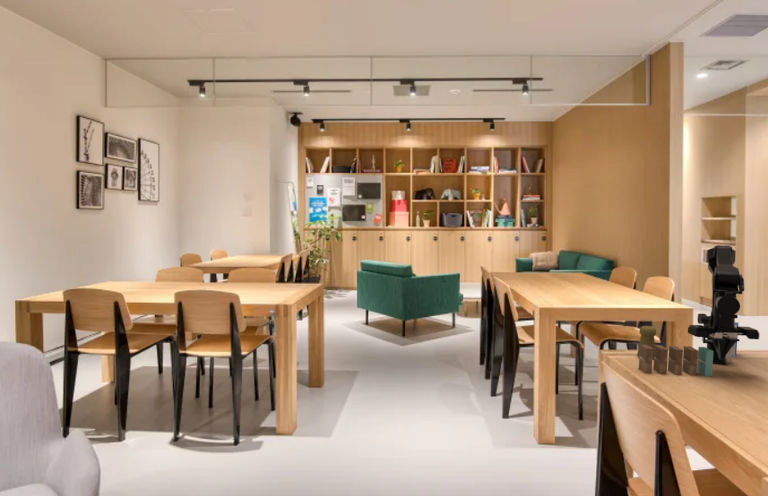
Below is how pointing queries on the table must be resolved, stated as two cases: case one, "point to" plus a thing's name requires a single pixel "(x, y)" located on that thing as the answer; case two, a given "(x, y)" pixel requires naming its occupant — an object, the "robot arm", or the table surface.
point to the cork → (647, 338)
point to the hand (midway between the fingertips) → (721, 358)
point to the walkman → (733, 347)
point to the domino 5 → (705, 361)
